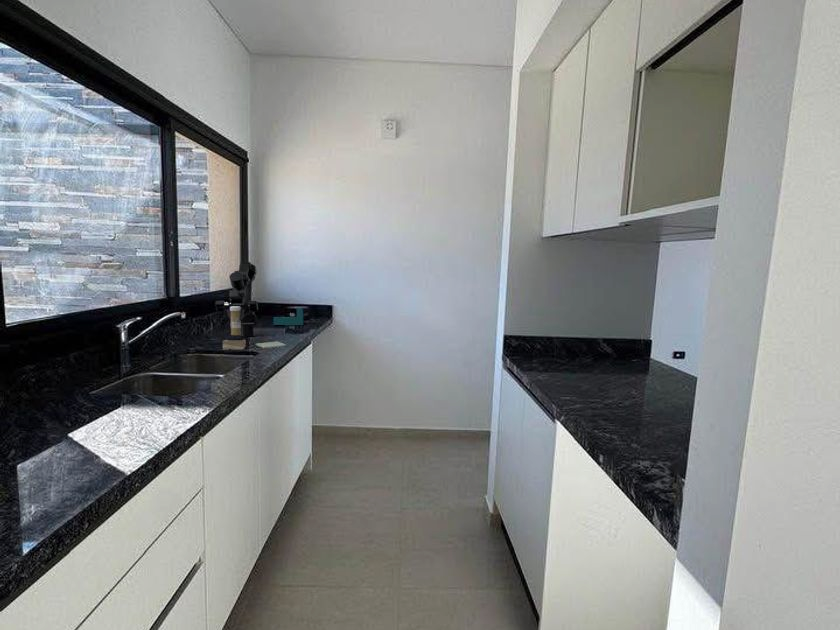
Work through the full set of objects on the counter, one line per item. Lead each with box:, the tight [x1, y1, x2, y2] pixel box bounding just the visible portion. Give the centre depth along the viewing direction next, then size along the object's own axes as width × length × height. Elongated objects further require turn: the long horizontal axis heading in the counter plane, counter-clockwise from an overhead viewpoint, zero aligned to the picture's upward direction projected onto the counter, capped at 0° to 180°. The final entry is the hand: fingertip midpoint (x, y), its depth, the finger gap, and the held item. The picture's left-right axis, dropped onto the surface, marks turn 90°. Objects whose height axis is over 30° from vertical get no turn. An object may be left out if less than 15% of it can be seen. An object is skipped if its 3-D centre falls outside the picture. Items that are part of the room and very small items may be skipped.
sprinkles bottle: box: [230, 306, 242, 336], centre depth 216 cm, size 5×5×14 cm
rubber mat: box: [255, 341, 287, 349], centre depth 224 cm, size 11×11×1 cm
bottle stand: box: [222, 339, 247, 351], centre depth 216 cm, size 6×9×4 cm, turn 101°
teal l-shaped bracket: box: [273, 308, 304, 326], centre depth 296 cm, size 18×11×10 cm, turn 106°
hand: (235, 320), depth 215 cm, fingers closed on sprinkles bottle, 4 cm apart
